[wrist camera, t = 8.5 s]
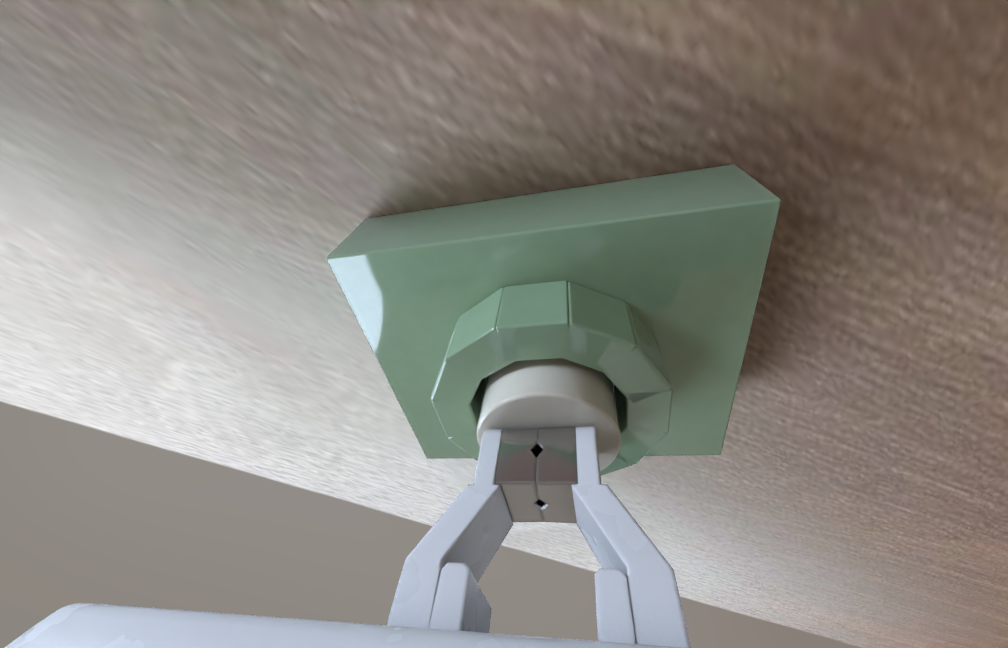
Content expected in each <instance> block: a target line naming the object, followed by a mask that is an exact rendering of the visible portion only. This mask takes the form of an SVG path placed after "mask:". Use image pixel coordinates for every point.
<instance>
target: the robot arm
mask: <svg viewBox="0 0 1008 648" xmlns="http://www.w3.org/2000/svg"><path fill="white" fill-rule="evenodd" d="M513 522H561V523H577V525H578V527H579V529H580V530H581V532H582V534H583V536H584V537H585V539H586V541H587V542H588V544H589V546H590V547H591V549H592V551H593V553H594V554H595V556H596V558H597V559H598V561H599V563H600V564H601V566H602V568H603V569H599V570H598V571H597V572H596V574H595V591H596V610H597V625H598V641H588V640H575V639H562V638H549V637H534V636H522V635H509V634H495V633H489V629H490V618H491V607H490V605H489V604H488V602H487V600H486V598H485V596H484V594H483V593H482V591H481V589H480V587H479V585H478V581H479V579H480V577H481V576H482V574H483V573H484V571H485V569H486V568H487V566H488V565H489V563H490V561H491V560H492V558H493V556H494V555H495V553H496V551H497V550H498V548H499V546H500V545H501V543H502V542H503V540H504V538H505V537H506V535H507V534H508V532H509V530H510V529H511V527H512V525H513ZM5 648H691V647H690V642H689V637H688V633H687V628H686V624H685V619H684V615H683V610H682V605H681V601H680V596H679V591H678V587H677V582H676V578H675V573H674V570H673V568H672V567H671V566H670V564H669V563H668V562H667V561H666V559H665V558H664V557H663V555H662V554H661V553H660V552H659V550H658V549H657V548H656V546H655V545H654V544H653V543H652V541H651V540H650V539H649V538H648V536H647V535H646V534H645V532H644V531H643V530H642V529H641V527H640V526H639V525H638V523H637V522H636V521H635V520H634V518H633V517H632V516H631V514H630V513H629V512H628V511H627V509H626V508H625V507H624V506H623V504H622V503H621V502H620V500H619V499H618V498H617V497H616V495H615V494H614V493H613V491H612V490H611V489H610V488H609V486H608V485H602V484H601V477H600V467H599V457H598V447H597V437H596V429H595V426H588V427H576V429H575V426H574V427H552V428H539V429H485V431H484V433H483V435H482V440H481V446H480V451H479V457H478V462H477V468H476V473H475V479H474V484H473V485H468V486H467V487H466V488H465V489H464V490H463V492H462V493H461V494H460V495H459V496H458V497H457V499H456V500H455V501H454V502H453V503H452V505H451V506H450V507H449V508H448V509H447V510H446V512H445V513H444V514H443V515H442V516H441V517H440V519H439V520H438V521H437V522H436V523H435V525H434V526H433V527H432V528H431V529H430V530H429V532H428V533H427V534H426V535H425V536H424V538H423V539H422V540H421V541H420V542H419V544H418V545H417V546H416V547H415V548H414V549H413V551H412V552H411V553H410V554H409V555H408V556H407V558H406V559H405V562H404V566H403V569H402V573H401V576H400V580H399V583H398V587H397V590H396V594H395V598H394V601H393V604H392V608H391V612H390V615H389V618H388V622H387V625H375V624H362V623H349V622H348V623H347V622H334V621H321V620H308V619H295V618H282V617H269V616H255V615H241V614H229V613H228V614H227V613H215V612H202V611H188V610H175V609H162V608H149V607H135V606H122V605H109V604H95V603H76V604H71V605H68V606H65V607H63V608H61V609H59V610H57V611H56V612H54V613H53V614H51V615H50V616H48V617H47V618H45V619H43V620H42V621H40V622H39V623H38V624H36V625H35V626H33V627H32V628H31V629H29V630H28V631H27V632H25V633H24V634H22V635H21V636H20V637H18V638H17V639H16V640H14V641H13V642H11V643H10V644H9V645H7V646H6V647H5Z"/></svg>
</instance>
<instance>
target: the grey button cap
mask: <svg viewBox="0 0 1008 648" xmlns="http://www.w3.org/2000/svg"><path fill="white" fill-rule="evenodd" d="M574 426H575V429H576V427H588V426H595V429H596V437H597V447H598V457H599V467H600V472H601V471H602V470H604V469H605V468H607V467H608V466H609V465H610V464H611V463H612V462H613V461H614V460H615V458H616V456H617V455H618V453H619V450H620V447H621V433H620V426H619V420H618V413H617V407H616V400H615V394H614V387H613V383H612V381H611V380H610V379H609V378H608V377H607V376H606V375H605V374H604V373H603V372H600V371H597V370H594V369H592V368H589V367H586V366H583V365H580V364H577V363H574V362H571V361H568V360H565V359H562V358H558V359H542V360H526V361H515V362H513V363H511V364H509V365H507V366H506V367H504V368H502V369H500V370H498V371H497V372H495V373H493V374H491V375H489V376H487V380H486V385H485V390H484V395H483V400H482V405H481V409H480V414H479V419H478V424H477V430H476V435H477V441H478V444H479V447H480V446H481V440H482V435H483V433H484V431H485V429H539V428H552V427H574Z"/></svg>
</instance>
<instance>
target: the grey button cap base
mask: <svg viewBox="0 0 1008 648" xmlns="http://www.w3.org/2000/svg"><path fill="white" fill-rule="evenodd" d="M780 204H781V199H780V198H779V197H778V196H776V195H775V194H774V193H772V192H771V191H770V190H768V189H767V188H766V187H765V186H763V185H762V184H761V183H759V182H758V181H757V180H755V179H754V178H753V177H751V176H750V175H749V174H748V173H746V172H745V171H744V170H742V169H741V168H740V167H738V166H737V165H735V164H732V165H725V166H719V167H712V168H705V169H698V170H692V171H685V172H678V173H672V174H665V175H658V176H651V177H645V178H638V179H631V180H624V181H618V182H611V183H604V184H597V185H591V186H584V187H577V188H570V189H564V190H557V191H550V192H543V193H537V194H530V195H523V196H516V197H510V198H503V199H496V200H489V201H483V202H476V203H469V204H462V205H456V206H449V207H442V208H436V209H429V210H422V211H415V212H409V213H402V214H395V215H388V216H382V217H375V218H368V219H365V220H364V221H363V222H362V223H361V224H360V225H359V226H358V227H357V228H356V229H355V230H354V231H353V232H352V233H351V234H350V235H349V236H348V237H347V238H346V239H345V240H344V241H343V242H342V243H341V244H340V245H339V246H338V247H337V248H336V249H335V250H334V251H333V252H332V253H331V254H330V255H329V256H328V257H327V258H326V259H327V261H328V263H329V265H330V267H331V269H332V271H333V273H334V275H335V277H336V279H337V281H338V283H339V285H340V287H341V289H342V291H343V293H344V295H345V297H346V299H347V301H348V303H349V305H350V307H351V309H352V311H353V313H354V315H355V317H356V319H357V321H358V323H359V325H360V327H361V329H362V331H363V333H364V335H365V337H366V339H367V341H368V343H369V345H370V347H371V349H372V351H373V353H374V354H375V356H376V358H377V360H378V362H379V364H380V366H381V368H382V370H383V372H384V374H385V376H386V378H387V380H388V382H389V384H390V386H391V388H392V390H393V392H394V394H395V396H396V398H397V400H398V402H399V404H400V406H401V408H402V410H403V412H404V414H405V416H406V418H407V420H408V422H409V424H410V426H411V428H412V430H413V432H414V434H415V436H416V438H417V440H418V442H419V444H420V446H421V448H422V449H423V451H424V453H425V455H426V457H427V458H428V459H434V458H475V459H476V460H477V461H478V457H479V451H480V447H479V444H478V441H477V435H476V430H477V424H478V419H479V414H480V409H481V405H482V400H483V395H484V390H485V385H486V380H487V376H489V375H491V374H493V373H495V372H497V371H498V370H500V369H502V368H504V367H506V366H507V365H509V364H511V363H513V362H515V361H526V360H542V359H558V358H562V359H565V360H568V361H571V362H574V363H577V364H580V365H583V366H586V367H589V368H592V369H594V370H597V371H600V372H603V373H604V374H605V375H606V376H607V377H608V378H609V379H610V380H611V381H612V383H613V387H614V394H615V400H616V407H617V413H618V420H619V426H620V433H621V447H620V450H619V453H618V455H617V456H616V458H615V460H614V461H613V462H612V463H611V464H610V465H609V466H608V467H607V468H605V469H604V470H602V471H601V472H600V476H601V475H604V474H607V473H610V472H613V471H616V470H619V469H622V468H625V467H629V466H632V465H633V464H636V463H637V462H638V461H639V460H640V459H641V458H642V457H643V456H678V455H720V454H721V451H722V447H723V442H724V438H725V434H726V430H727V426H728V421H729V417H730V413H731V409H732V405H733V400H734V396H735V392H736V388H737V384H738V380H739V375H740V371H741V367H742V363H743V359H744V354H745V350H746V346H747V342H748V338H749V333H750V329H751V325H752V321H753V317H754V312H755V308H756V304H757V300H758V296H759V292H760V287H761V283H762V279H763V275H764V271H765V266H766V262H767V258H768V254H769V250H770V245H771V241H772V237H773V233H774V229H775V224H776V220H777V216H778V212H779V208H780Z"/></svg>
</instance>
